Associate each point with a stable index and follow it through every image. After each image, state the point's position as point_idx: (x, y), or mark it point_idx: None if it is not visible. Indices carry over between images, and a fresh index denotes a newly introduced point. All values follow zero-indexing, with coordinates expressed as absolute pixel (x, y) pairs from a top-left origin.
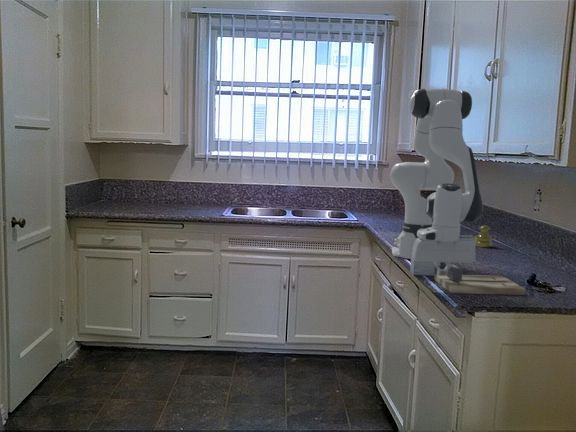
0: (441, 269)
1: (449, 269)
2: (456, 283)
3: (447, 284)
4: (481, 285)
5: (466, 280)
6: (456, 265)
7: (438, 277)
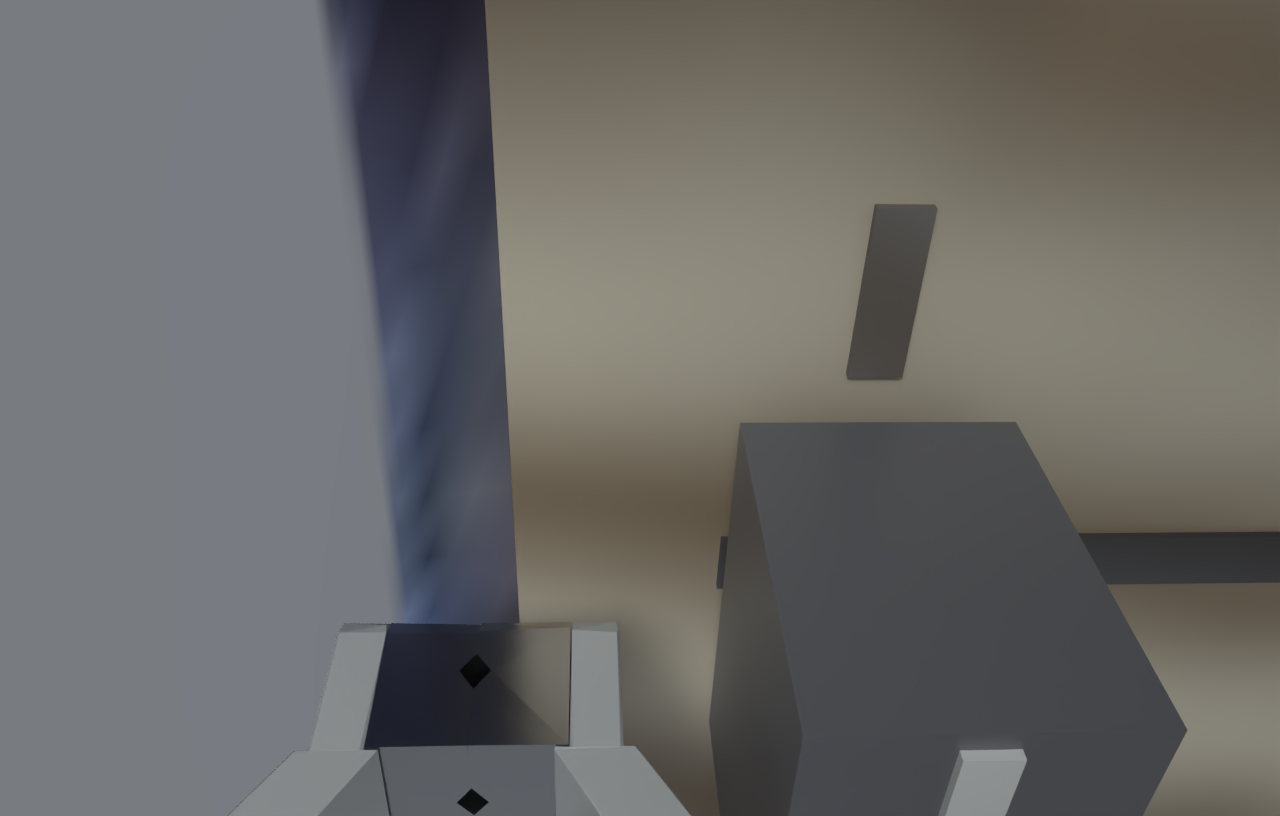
0: (458, 767)
1: (765, 728)
2: None
3: None
4: (1215, 809)
5: (1149, 576)
6: (1138, 753)
7: (502, 289)
